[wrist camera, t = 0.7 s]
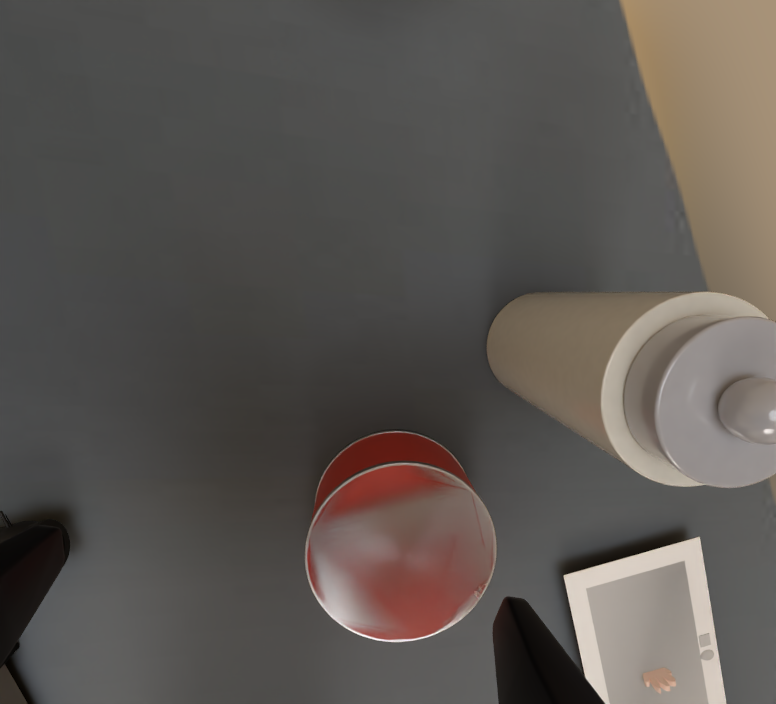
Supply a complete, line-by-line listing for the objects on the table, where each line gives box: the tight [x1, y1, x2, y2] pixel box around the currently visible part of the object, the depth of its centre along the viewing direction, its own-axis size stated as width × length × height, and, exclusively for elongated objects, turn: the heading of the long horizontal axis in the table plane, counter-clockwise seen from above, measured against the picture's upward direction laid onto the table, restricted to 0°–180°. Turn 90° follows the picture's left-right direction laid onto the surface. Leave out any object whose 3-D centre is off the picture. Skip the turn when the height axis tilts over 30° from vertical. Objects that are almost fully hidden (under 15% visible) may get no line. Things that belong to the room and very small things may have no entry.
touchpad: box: [563, 537, 726, 704], centre depth 25 cm, size 8×15×2 cm, turn 14°
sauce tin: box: [305, 430, 497, 642], centre depth 22 cm, size 8×8×5 cm
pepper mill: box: [487, 292, 776, 488], centre depth 16 cm, size 6×6×14 cm
